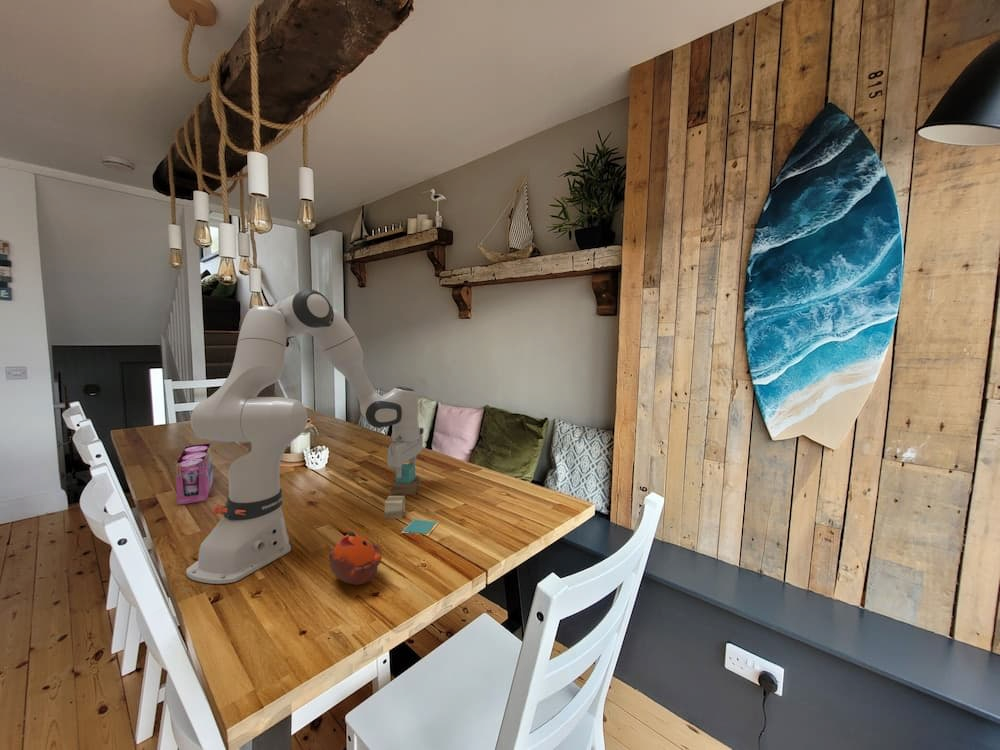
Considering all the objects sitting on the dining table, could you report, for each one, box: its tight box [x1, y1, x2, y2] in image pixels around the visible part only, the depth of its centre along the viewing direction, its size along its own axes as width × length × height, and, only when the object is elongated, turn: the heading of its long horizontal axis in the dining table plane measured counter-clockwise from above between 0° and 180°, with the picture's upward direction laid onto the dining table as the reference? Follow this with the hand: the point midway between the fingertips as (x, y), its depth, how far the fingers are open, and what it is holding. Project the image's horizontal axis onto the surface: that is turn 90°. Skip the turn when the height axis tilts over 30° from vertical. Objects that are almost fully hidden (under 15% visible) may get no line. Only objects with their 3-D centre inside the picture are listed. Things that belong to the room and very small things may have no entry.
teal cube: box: [395, 463, 416, 484], centre depth 143 cm, size 5×5×5 cm
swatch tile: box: [401, 518, 438, 534], centre depth 117 cm, size 8×8×1 cm
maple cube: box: [384, 495, 406, 519], centre depth 125 cm, size 5×5×5 cm
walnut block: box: [391, 476, 421, 496], centre depth 143 cm, size 8×8×4 cm
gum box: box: [175, 442, 215, 506], centre depth 139 cm, size 24×8×14 cm, turn 30°
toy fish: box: [328, 532, 383, 586], centre depth 92 cm, size 12×10×11 cm
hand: (405, 472), depth 143 cm, fingers open, 8 cm apart
